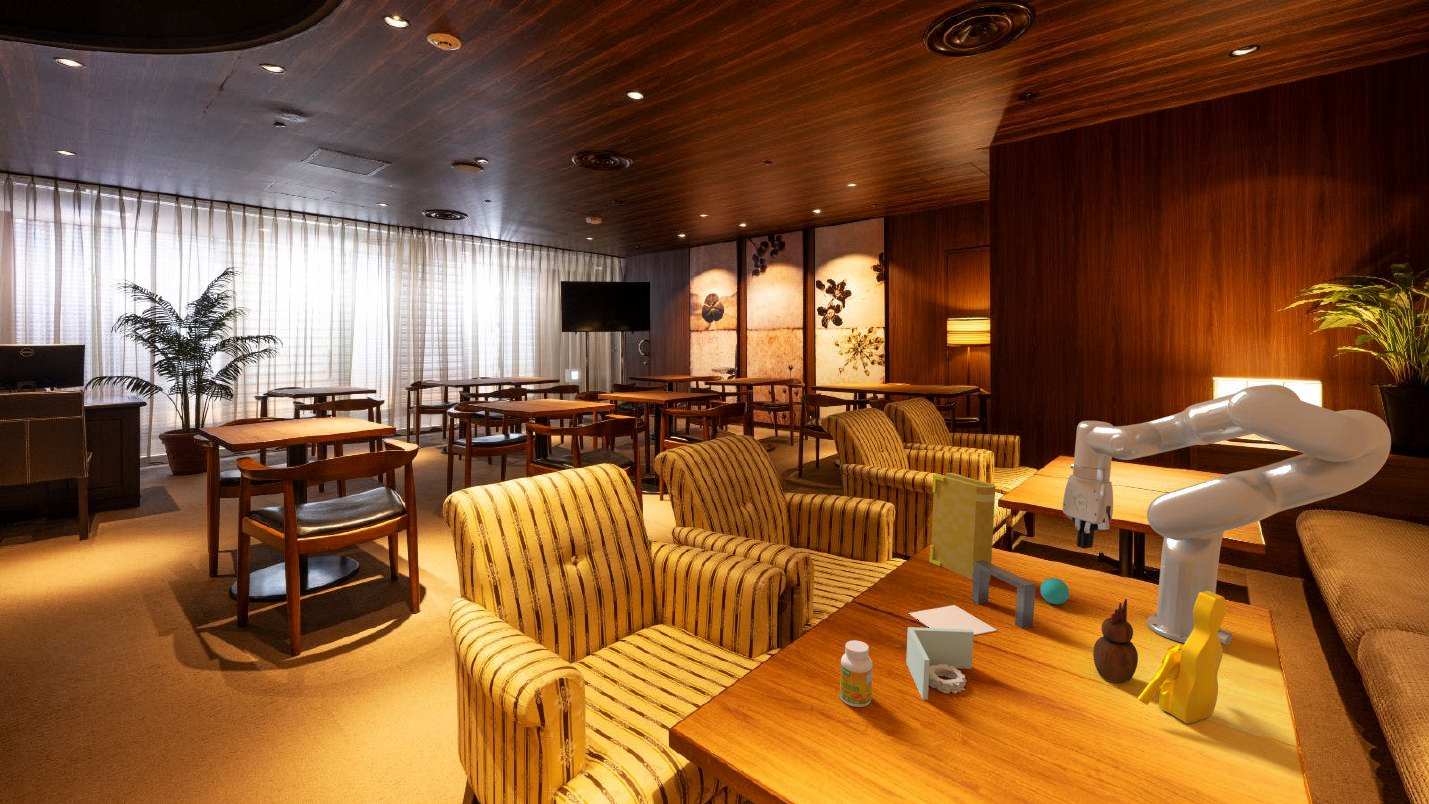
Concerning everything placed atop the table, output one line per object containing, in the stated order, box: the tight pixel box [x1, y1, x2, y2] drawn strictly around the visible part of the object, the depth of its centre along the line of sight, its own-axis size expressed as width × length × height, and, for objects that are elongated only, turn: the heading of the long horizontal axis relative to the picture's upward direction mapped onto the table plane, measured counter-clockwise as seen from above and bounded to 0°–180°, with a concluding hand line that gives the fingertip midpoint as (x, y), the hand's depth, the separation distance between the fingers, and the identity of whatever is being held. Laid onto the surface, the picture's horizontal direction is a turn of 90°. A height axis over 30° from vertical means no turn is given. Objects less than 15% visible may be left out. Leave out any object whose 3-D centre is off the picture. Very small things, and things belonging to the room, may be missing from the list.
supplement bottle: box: [839, 640, 874, 708], centre depth 105 cm, size 5×5×10 cm
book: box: [928, 472, 996, 582], centre depth 164 cm, size 17×7×25 cm, turn 25°
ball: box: [1039, 577, 1070, 605], centre depth 144 cm, size 6×6×6 cm
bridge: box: [971, 560, 1036, 630], centre depth 139 cm, size 3×15×10 cm, turn 19°
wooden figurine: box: [1092, 598, 1139, 684], centre depth 112 cm, size 7×6×15 cm
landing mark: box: [908, 604, 998, 637], centre depth 135 cm, size 13×13×1 cm
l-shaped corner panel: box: [905, 626, 975, 701], centre depth 111 cm, size 12×12×8 cm
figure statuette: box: [1137, 591, 1226, 724], centre depth 101 cm, size 18×8×22 cm, turn 110°
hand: (1084, 546), depth 147 cm, fingers closed
